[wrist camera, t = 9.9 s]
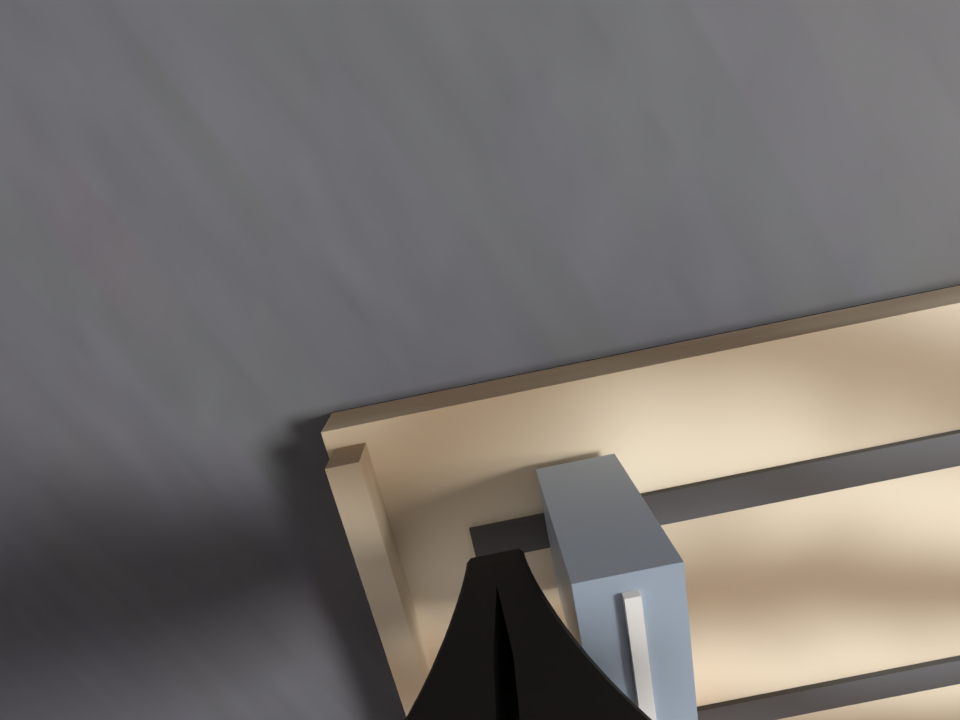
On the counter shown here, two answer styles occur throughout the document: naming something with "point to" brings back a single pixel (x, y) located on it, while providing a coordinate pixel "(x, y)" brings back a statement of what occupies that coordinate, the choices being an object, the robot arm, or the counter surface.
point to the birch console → (704, 502)
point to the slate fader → (620, 584)
